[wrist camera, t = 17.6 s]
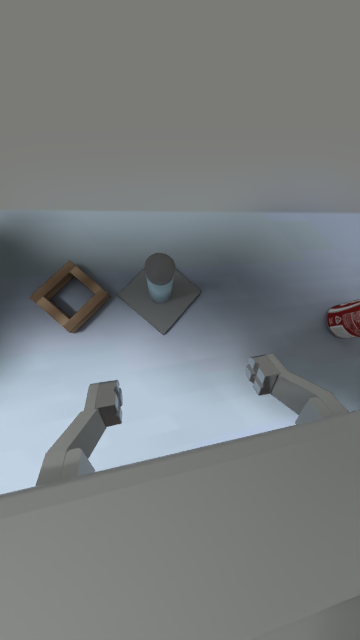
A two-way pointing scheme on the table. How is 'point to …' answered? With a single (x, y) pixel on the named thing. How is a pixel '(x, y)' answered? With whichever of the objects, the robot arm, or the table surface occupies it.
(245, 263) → the table surface
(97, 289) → the walnut dock
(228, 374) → the table surface
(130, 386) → the table surface
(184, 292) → the grey mat
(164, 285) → the cylinder
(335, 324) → the soda can
